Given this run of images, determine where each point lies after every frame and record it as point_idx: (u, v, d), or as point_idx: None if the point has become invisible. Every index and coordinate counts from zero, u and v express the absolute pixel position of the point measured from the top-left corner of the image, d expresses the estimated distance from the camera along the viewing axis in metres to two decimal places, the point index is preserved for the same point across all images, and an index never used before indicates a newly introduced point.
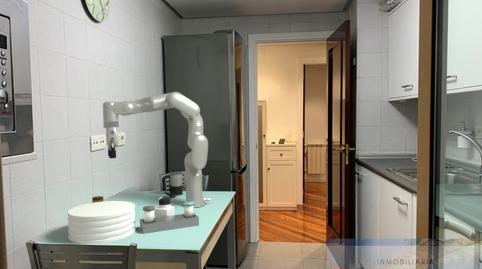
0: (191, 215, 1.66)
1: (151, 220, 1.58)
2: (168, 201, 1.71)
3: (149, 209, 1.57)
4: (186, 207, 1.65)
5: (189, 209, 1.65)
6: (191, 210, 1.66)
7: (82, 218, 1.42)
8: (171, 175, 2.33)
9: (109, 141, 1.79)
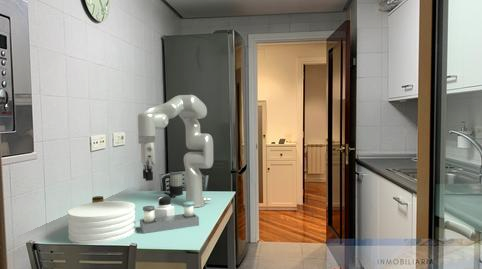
0: (191, 215, 1.66)
1: (151, 220, 1.58)
2: (168, 201, 1.71)
3: (149, 209, 1.57)
4: (186, 207, 1.65)
5: (189, 209, 1.65)
6: (191, 210, 1.66)
7: (82, 218, 1.42)
8: (171, 175, 2.33)
9: (146, 161, 1.54)
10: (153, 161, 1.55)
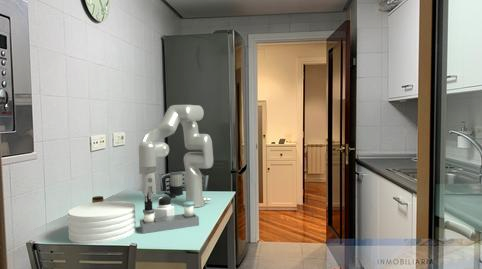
0: (191, 215, 1.66)
1: None
2: (168, 201, 1.71)
3: (149, 212, 1.57)
4: (186, 207, 1.65)
5: (189, 209, 1.65)
6: (191, 210, 1.66)
7: (82, 218, 1.42)
8: (171, 175, 2.33)
9: (146, 195, 1.55)
10: (154, 192, 1.55)
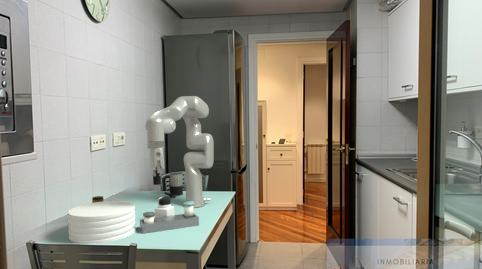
0: (191, 215, 1.66)
1: None
2: (168, 201, 1.71)
3: (149, 215, 1.57)
4: (186, 207, 1.65)
5: (189, 209, 1.65)
6: (191, 210, 1.66)
7: (82, 218, 1.42)
8: (171, 175, 2.32)
9: (155, 169, 1.56)
10: (162, 166, 1.56)
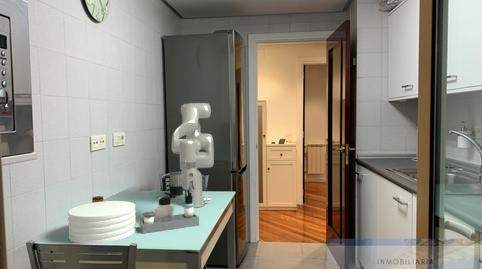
0: (191, 216, 1.66)
1: None
2: (168, 201, 1.71)
3: (149, 215, 1.57)
4: (186, 208, 1.65)
5: (189, 210, 1.65)
6: (191, 211, 1.66)
7: (82, 218, 1.42)
8: (171, 175, 2.32)
9: (187, 189, 1.63)
10: (194, 186, 1.63)
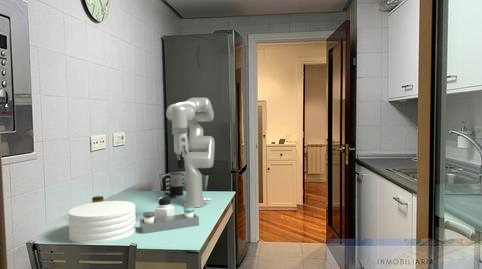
0: None
1: None
2: (168, 201, 1.71)
3: (149, 215, 1.57)
4: (186, 213, 1.66)
5: (189, 215, 1.66)
6: (191, 216, 1.66)
7: (83, 218, 1.43)
8: (171, 175, 2.32)
9: None
10: (187, 150, 1.69)
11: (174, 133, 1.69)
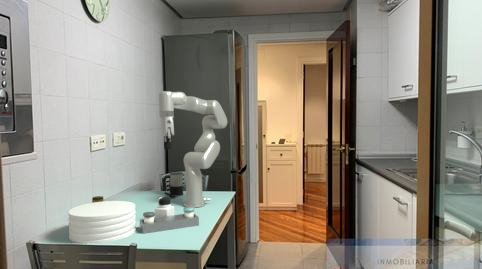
0: None
1: None
2: (168, 201, 1.71)
3: (149, 215, 1.57)
4: (186, 213, 1.66)
5: (189, 215, 1.66)
6: (191, 216, 1.66)
7: (83, 218, 1.43)
8: (171, 175, 2.32)
9: (166, 134, 1.80)
10: (172, 132, 1.81)
11: (161, 116, 1.81)
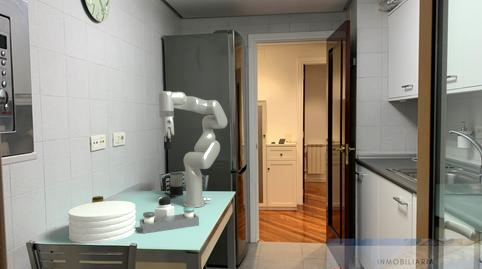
0: None
1: None
2: (168, 201, 1.71)
3: (149, 215, 1.57)
4: (186, 213, 1.66)
5: (189, 215, 1.66)
6: (191, 216, 1.66)
7: (83, 218, 1.43)
8: (171, 175, 2.32)
9: (166, 134, 1.80)
10: (172, 132, 1.81)
11: (161, 116, 1.81)
